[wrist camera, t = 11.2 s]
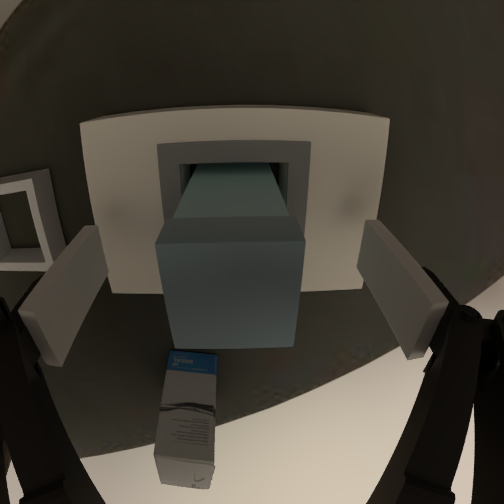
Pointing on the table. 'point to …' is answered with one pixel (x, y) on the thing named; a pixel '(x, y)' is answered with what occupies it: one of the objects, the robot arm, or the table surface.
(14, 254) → the grey square frame
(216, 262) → the plug
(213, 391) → the ink box
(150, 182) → the port
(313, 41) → the table surface
